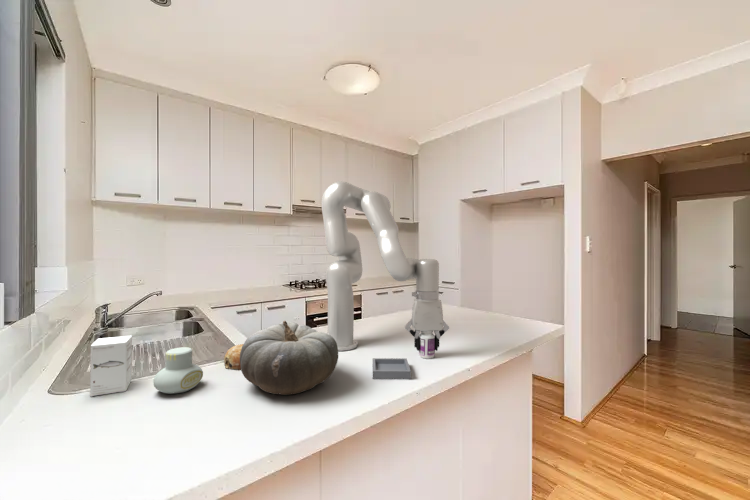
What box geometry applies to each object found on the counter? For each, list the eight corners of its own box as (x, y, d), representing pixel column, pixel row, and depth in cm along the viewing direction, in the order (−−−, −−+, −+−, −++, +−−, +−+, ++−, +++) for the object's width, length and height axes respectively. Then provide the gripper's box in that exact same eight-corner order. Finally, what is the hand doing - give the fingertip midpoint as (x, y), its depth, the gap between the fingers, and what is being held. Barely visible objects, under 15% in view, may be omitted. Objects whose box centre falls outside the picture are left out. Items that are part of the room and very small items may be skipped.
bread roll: (221, 377, 102) (212, 356, 99) (244, 353, 111) (236, 334, 108) (246, 382, 99) (238, 361, 95) (268, 357, 107) (260, 337, 104)
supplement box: (88, 397, 80) (88, 345, 80) (97, 386, 86) (97, 337, 86) (126, 391, 83) (126, 341, 83) (132, 380, 90) (132, 334, 90)
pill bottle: (434, 354, 114) (434, 326, 114) (435, 359, 109) (435, 330, 109) (418, 353, 115) (418, 325, 115) (418, 358, 110) (419, 329, 109)
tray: (372, 379, 92) (372, 371, 92) (372, 365, 103) (372, 358, 103) (410, 379, 93) (410, 371, 93) (406, 365, 103) (406, 358, 103)
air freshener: (172, 401, 79) (172, 358, 79) (146, 396, 81) (146, 355, 81) (208, 382, 89) (208, 345, 89) (184, 379, 92) (184, 342, 91)
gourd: (281, 352, 107) (285, 300, 104) (350, 376, 98) (357, 321, 95) (218, 391, 84) (221, 326, 81) (301, 427, 75) (308, 357, 72)
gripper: (402, 297, 108) (402, 352, 108) (455, 297, 108) (454, 353, 108) (400, 294, 115) (400, 346, 116) (449, 294, 116) (449, 346, 116)
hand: (426, 348), depth 112 cm, fingers closed on pill bottle, 5 cm apart
